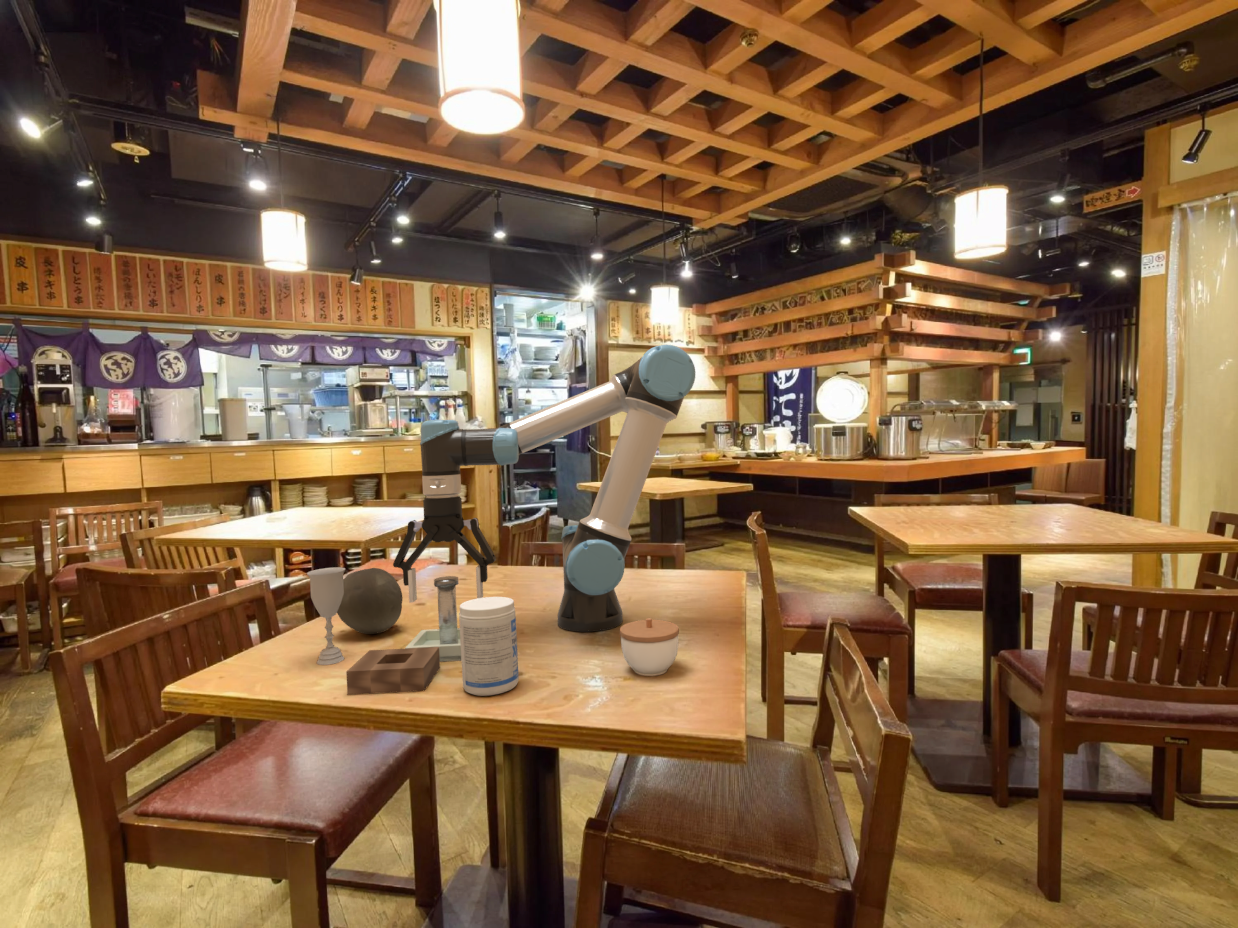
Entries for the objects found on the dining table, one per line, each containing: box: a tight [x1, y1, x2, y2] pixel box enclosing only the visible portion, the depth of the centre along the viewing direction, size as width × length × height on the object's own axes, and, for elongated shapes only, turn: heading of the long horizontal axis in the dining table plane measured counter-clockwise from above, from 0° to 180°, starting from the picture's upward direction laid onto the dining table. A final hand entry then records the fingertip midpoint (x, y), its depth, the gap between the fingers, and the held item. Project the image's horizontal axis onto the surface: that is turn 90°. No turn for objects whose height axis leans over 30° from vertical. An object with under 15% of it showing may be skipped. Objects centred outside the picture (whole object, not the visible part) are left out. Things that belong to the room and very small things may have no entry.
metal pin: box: [433, 575, 459, 645], centre depth 126 cm, size 5×5×14 cm
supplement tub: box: [458, 596, 519, 697], centre depth 106 cm, size 10×10×15 cm
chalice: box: [306, 566, 346, 666], centre depth 123 cm, size 7×7×18 cm
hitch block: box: [345, 647, 441, 696], centre depth 111 cm, size 13×11×4 cm
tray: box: [404, 627, 462, 663], centre depth 126 cm, size 14×12×3 cm
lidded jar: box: [619, 617, 680, 677], centre depth 112 cm, size 11×11×9 cm
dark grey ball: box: [336, 567, 403, 635], centre depth 140 cm, size 14×14×15 cm
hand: (446, 599), depth 126 cm, fingers open, 13 cm apart
